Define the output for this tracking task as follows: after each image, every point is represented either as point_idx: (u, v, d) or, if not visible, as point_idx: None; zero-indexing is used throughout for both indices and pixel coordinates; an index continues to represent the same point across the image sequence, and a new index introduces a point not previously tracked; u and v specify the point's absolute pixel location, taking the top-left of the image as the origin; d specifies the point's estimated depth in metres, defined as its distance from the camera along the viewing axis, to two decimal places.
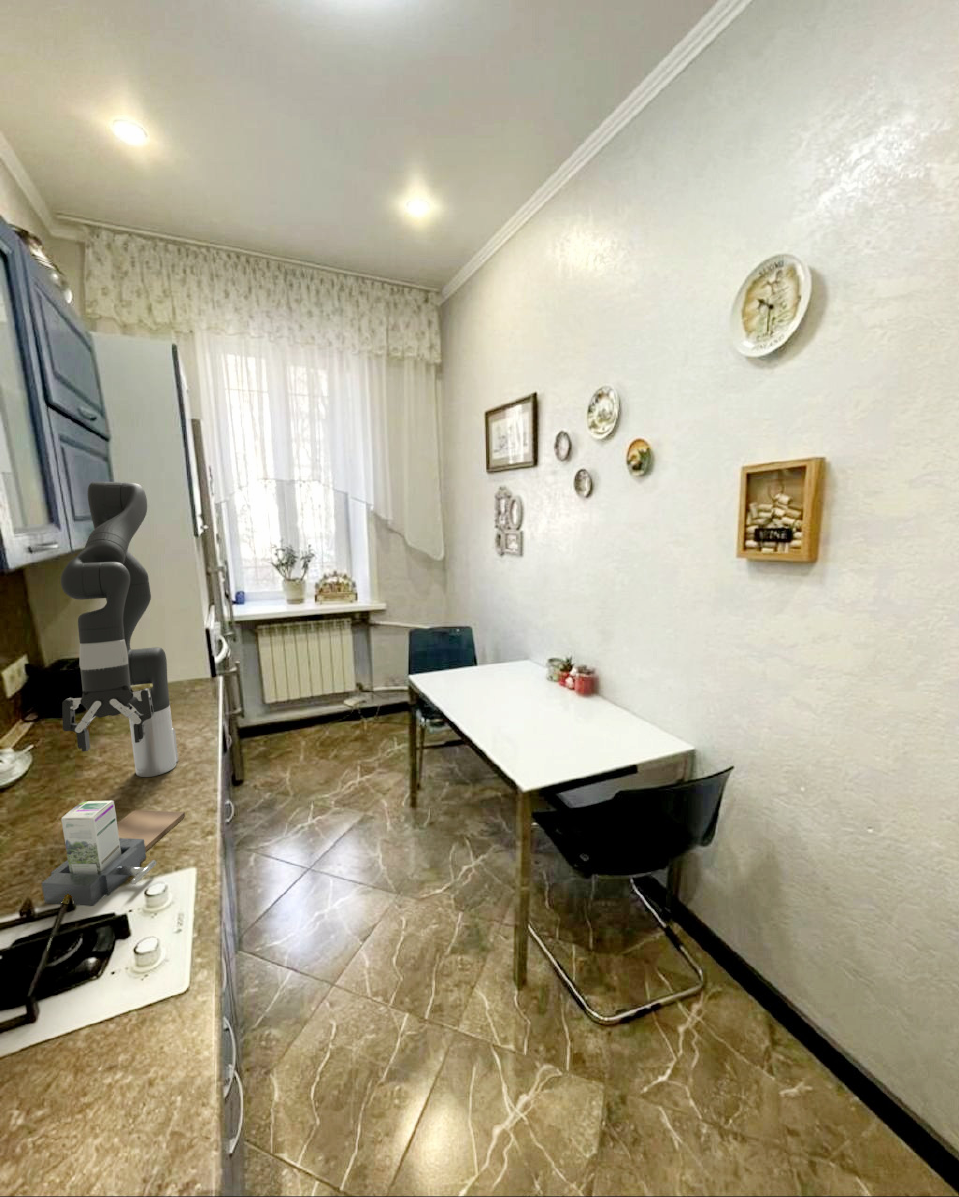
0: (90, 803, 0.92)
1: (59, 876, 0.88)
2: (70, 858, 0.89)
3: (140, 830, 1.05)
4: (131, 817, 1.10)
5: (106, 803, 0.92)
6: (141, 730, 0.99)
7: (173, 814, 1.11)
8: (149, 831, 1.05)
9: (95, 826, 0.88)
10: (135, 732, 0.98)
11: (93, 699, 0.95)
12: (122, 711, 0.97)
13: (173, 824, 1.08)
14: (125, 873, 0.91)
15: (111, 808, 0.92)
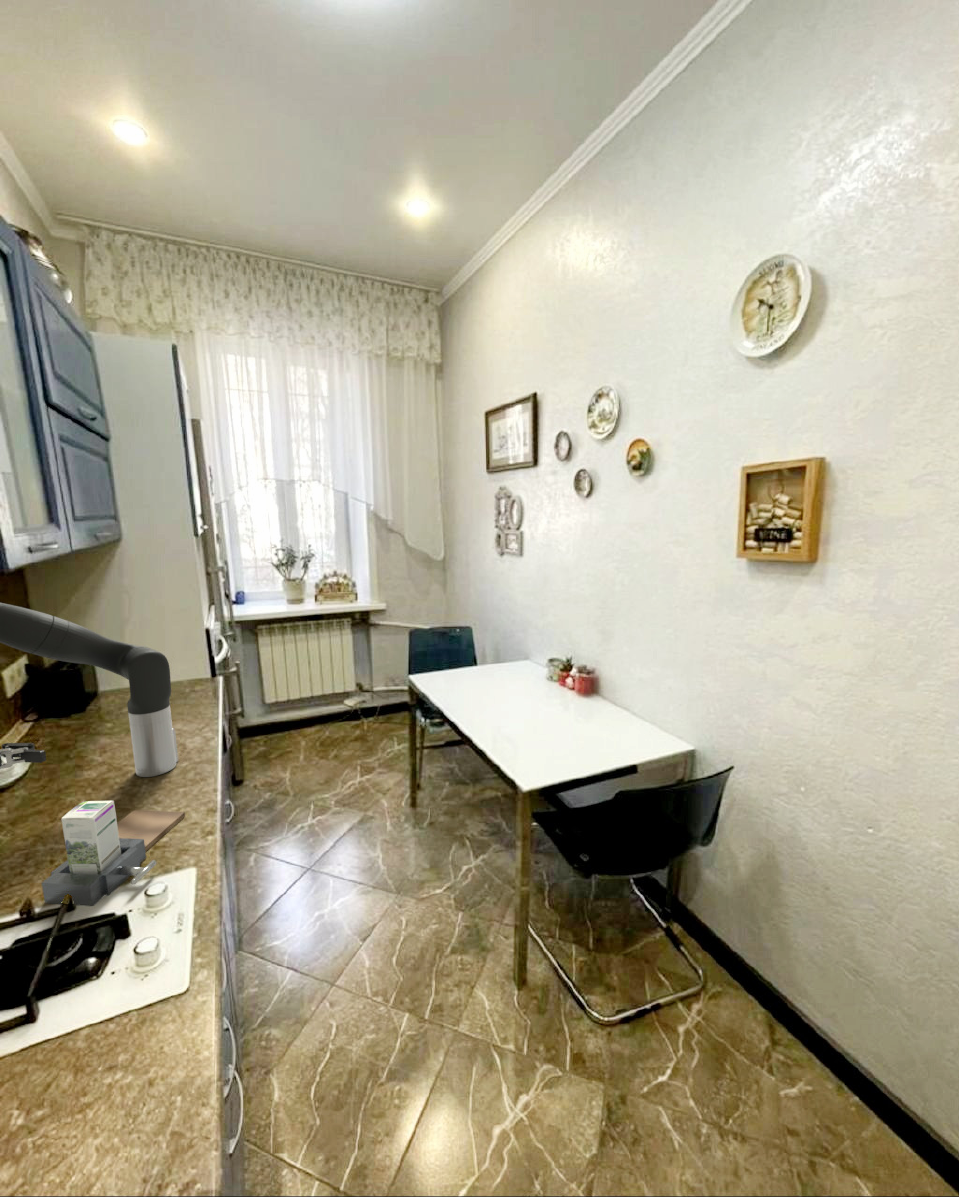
0: (90, 803, 0.92)
1: (59, 876, 0.88)
2: (70, 858, 0.89)
3: (140, 830, 1.05)
4: (131, 817, 1.10)
5: (106, 803, 0.92)
6: None
7: (173, 814, 1.11)
8: (149, 831, 1.05)
9: (95, 826, 0.88)
10: None
11: None
12: None
13: (173, 824, 1.08)
14: (125, 873, 0.91)
15: (111, 808, 0.92)
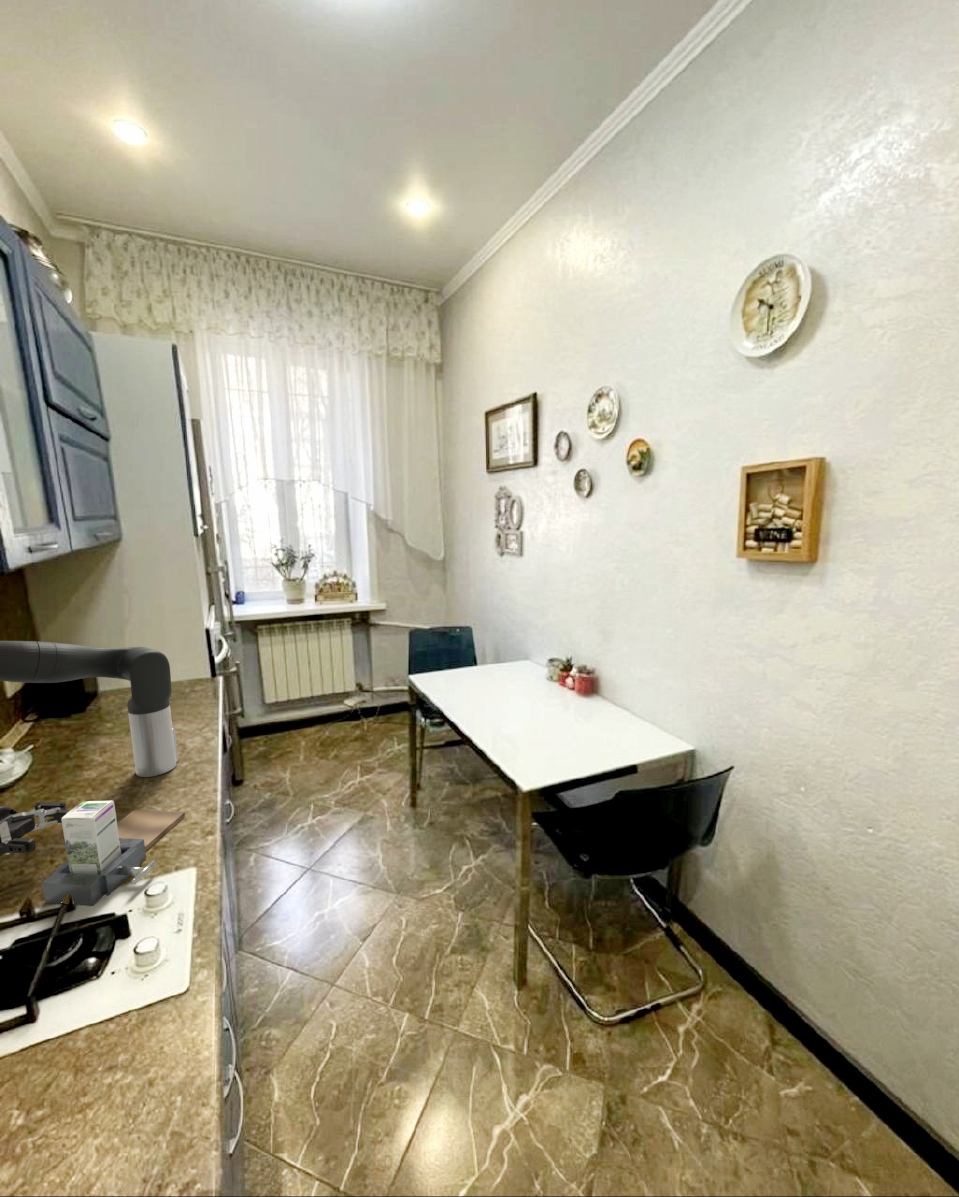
0: (90, 803, 0.92)
1: (59, 876, 0.88)
2: (70, 858, 0.89)
3: (140, 830, 1.05)
4: (131, 817, 1.10)
5: (106, 803, 0.92)
6: None
7: (173, 814, 1.11)
8: (149, 831, 1.05)
9: (95, 826, 0.88)
10: None
11: None
12: None
13: (173, 824, 1.08)
14: (125, 873, 0.91)
15: (111, 808, 0.92)
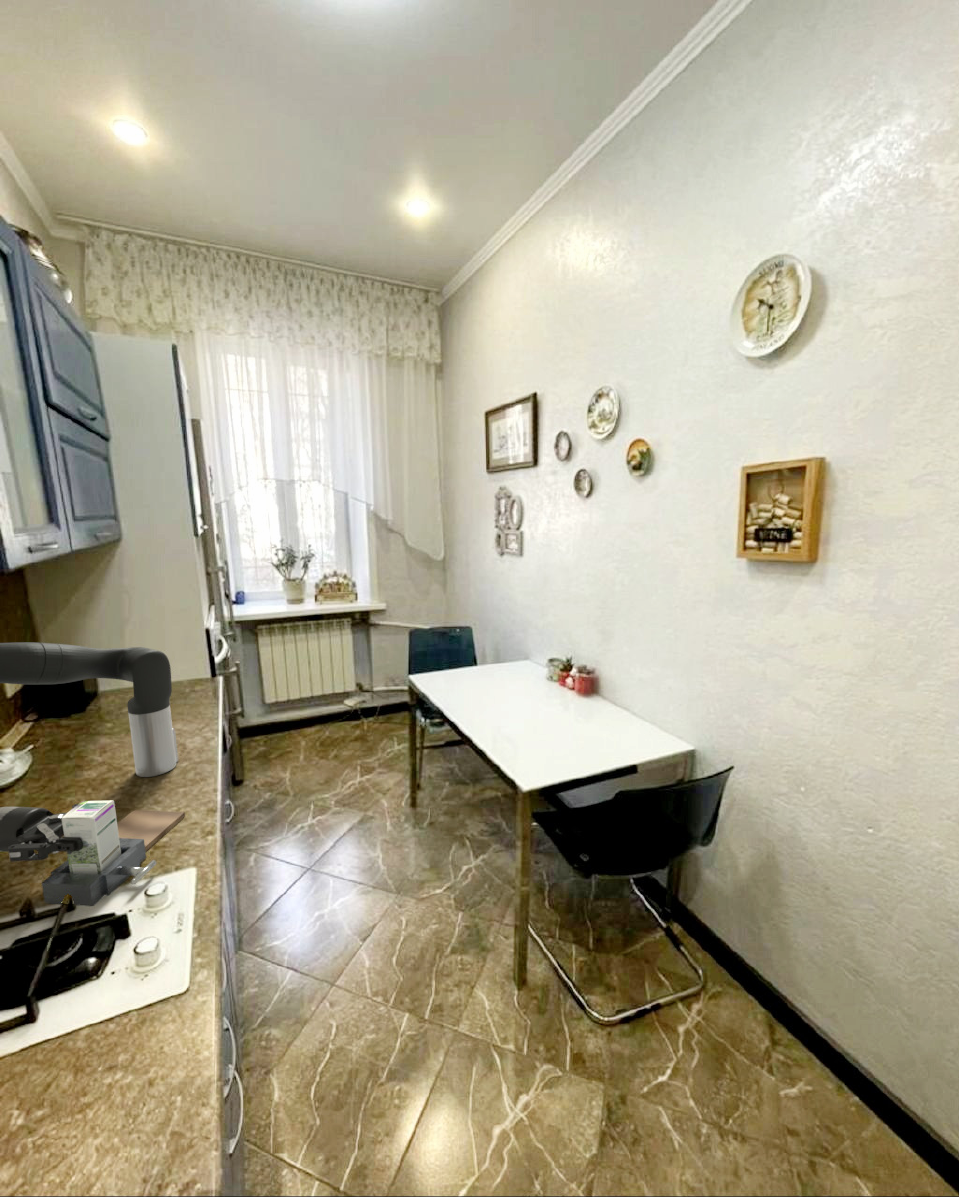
0: (90, 803, 0.92)
1: (59, 876, 0.88)
2: (70, 858, 0.89)
3: (140, 830, 1.05)
4: (131, 817, 1.10)
5: (106, 803, 0.92)
6: None
7: (173, 814, 1.11)
8: (149, 831, 1.05)
9: (95, 825, 0.88)
10: None
11: None
12: None
13: (173, 824, 1.08)
14: (125, 873, 0.91)
15: (111, 808, 0.92)
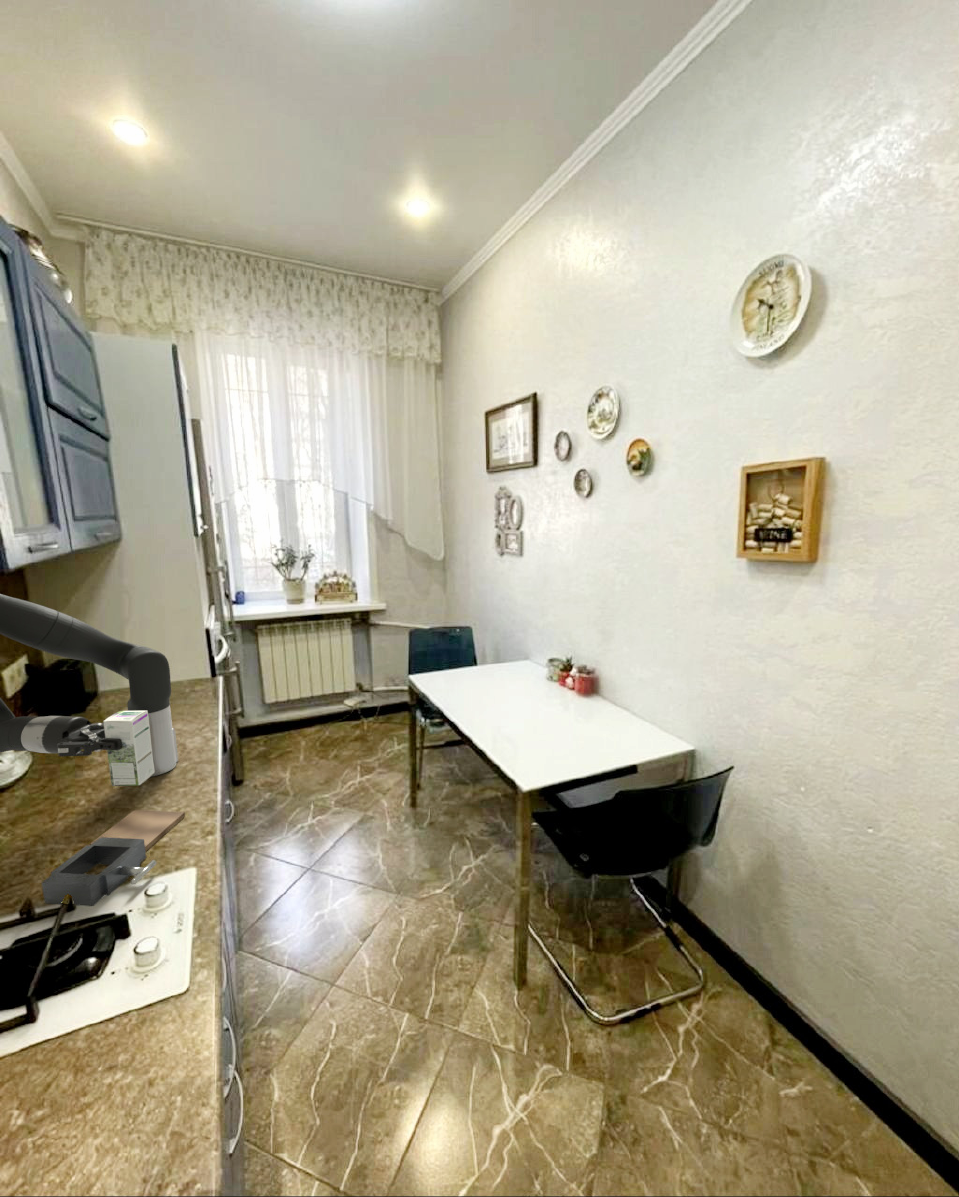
0: (127, 712, 1.04)
1: (59, 876, 0.88)
2: (110, 758, 1.01)
3: (140, 830, 1.05)
4: (131, 817, 1.10)
5: (141, 712, 1.04)
6: None
7: (173, 814, 1.11)
8: (149, 831, 1.05)
9: (133, 728, 1.00)
10: None
11: None
12: None
13: (173, 824, 1.08)
14: (125, 873, 0.91)
15: (145, 716, 1.04)
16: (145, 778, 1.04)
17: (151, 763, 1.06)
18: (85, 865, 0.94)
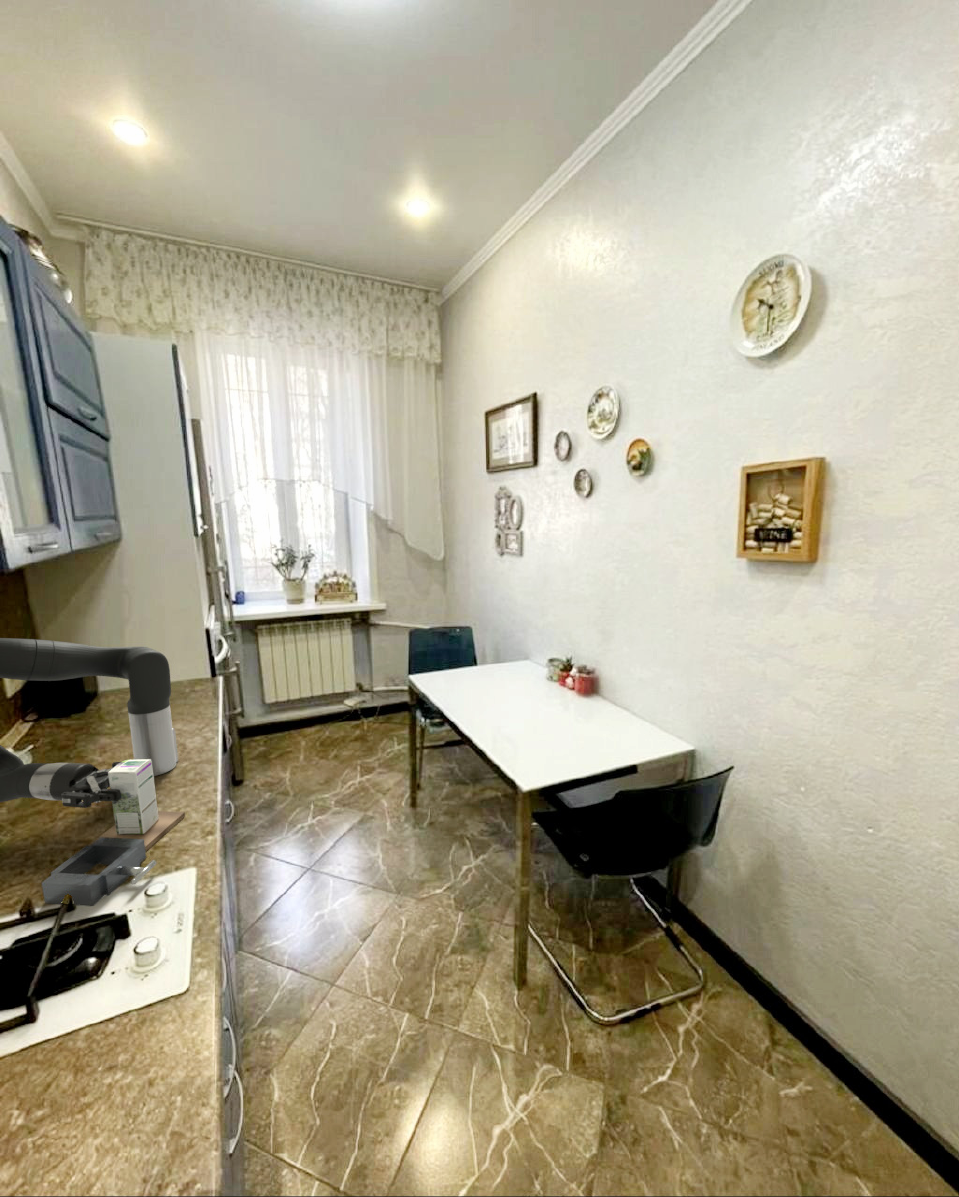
0: (131, 761, 1.06)
1: (59, 876, 0.88)
2: (115, 808, 1.03)
3: None
4: None
5: (145, 761, 1.06)
6: None
7: (173, 814, 1.11)
8: (149, 831, 1.05)
9: (137, 779, 1.02)
10: None
11: None
12: None
13: (173, 824, 1.08)
14: (125, 873, 0.91)
15: (149, 765, 1.06)
16: (149, 826, 1.06)
17: (155, 810, 1.08)
18: (85, 865, 0.94)
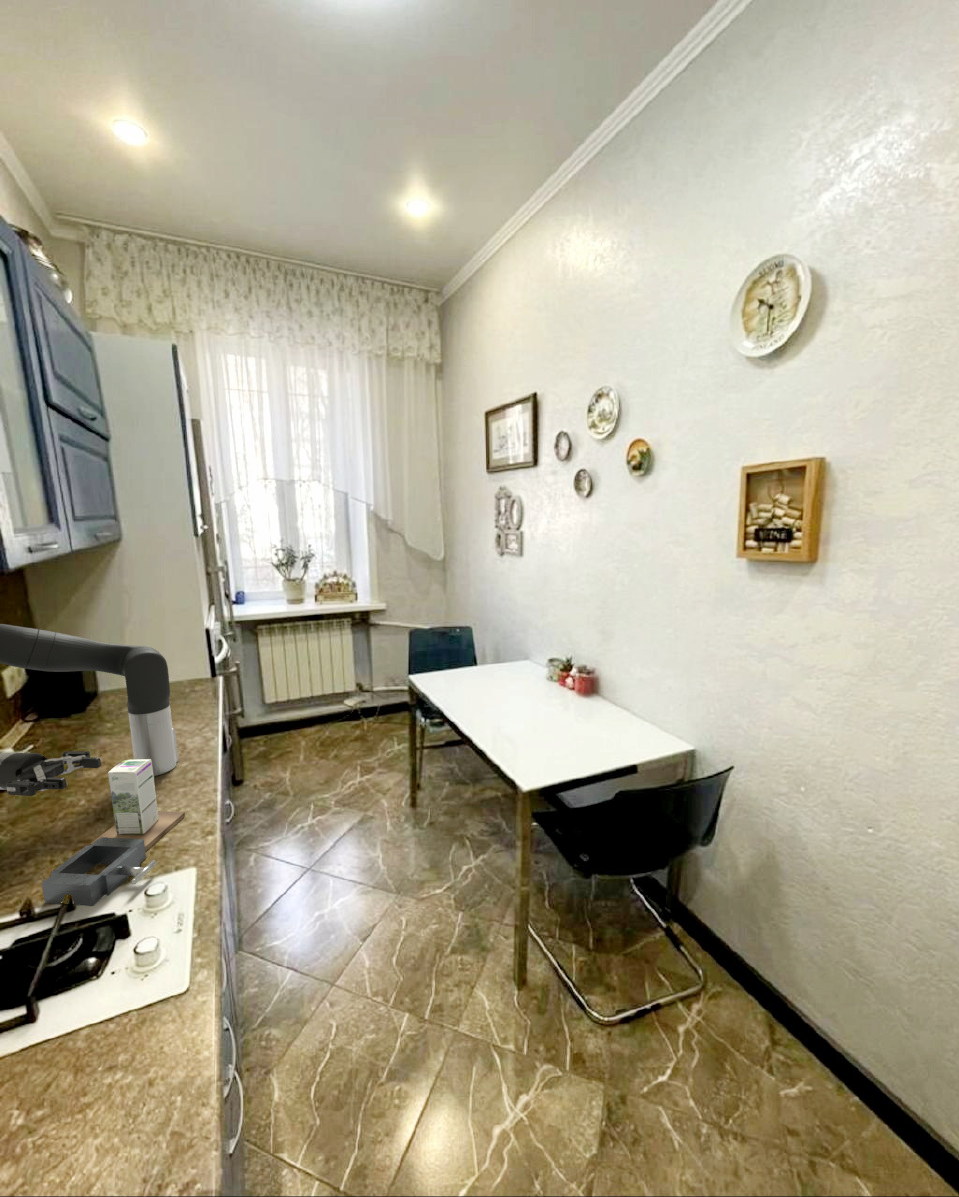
0: (131, 761, 1.06)
1: (59, 876, 0.88)
2: (115, 808, 1.03)
3: None
4: None
5: (145, 761, 1.06)
6: None
7: (173, 814, 1.11)
8: (149, 831, 1.05)
9: (137, 779, 1.02)
10: None
11: None
12: None
13: (173, 824, 1.08)
14: (125, 873, 0.91)
15: (149, 765, 1.06)
16: (149, 826, 1.06)
17: (155, 810, 1.08)
18: (85, 865, 0.94)
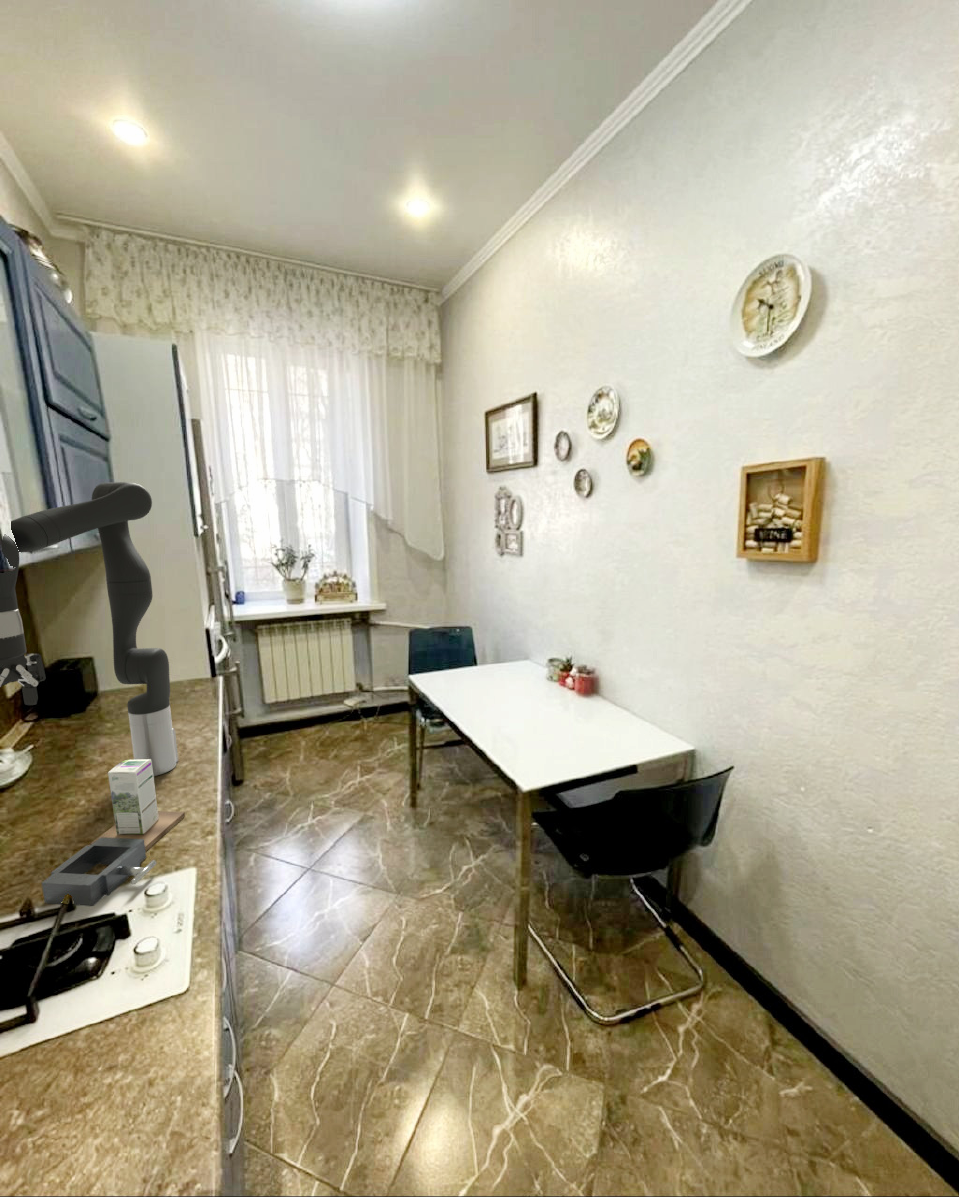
0: (131, 761, 1.06)
1: (59, 876, 0.88)
2: (115, 808, 1.03)
3: None
4: None
5: (145, 761, 1.06)
6: None
7: (173, 814, 1.11)
8: (149, 831, 1.05)
9: (137, 779, 1.02)
10: None
11: None
12: None
13: (173, 824, 1.08)
14: (125, 873, 0.91)
15: (149, 765, 1.06)
16: (149, 826, 1.06)
17: (155, 810, 1.08)
18: (85, 865, 0.94)
